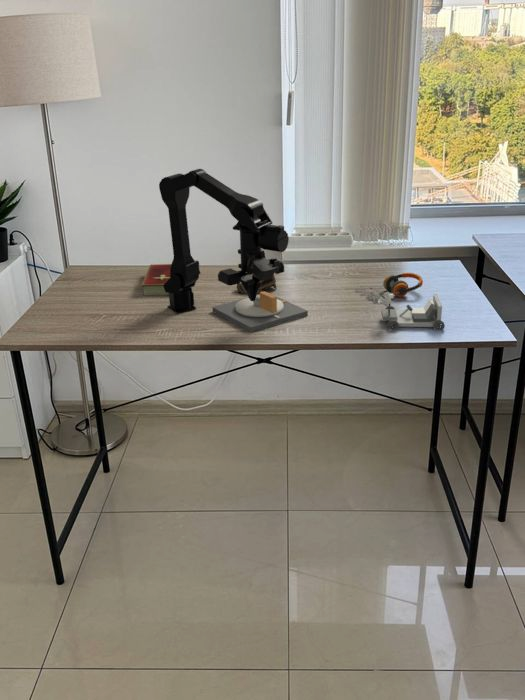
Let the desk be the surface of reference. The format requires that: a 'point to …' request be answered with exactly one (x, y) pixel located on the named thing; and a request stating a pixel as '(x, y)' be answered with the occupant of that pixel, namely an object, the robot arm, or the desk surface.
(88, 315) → the desk surface
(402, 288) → the headphones
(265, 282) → the brown curved looped piece
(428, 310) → the toy car
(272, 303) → the dial
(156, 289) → the hardcover book
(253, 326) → the dial board
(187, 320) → the desk surface
